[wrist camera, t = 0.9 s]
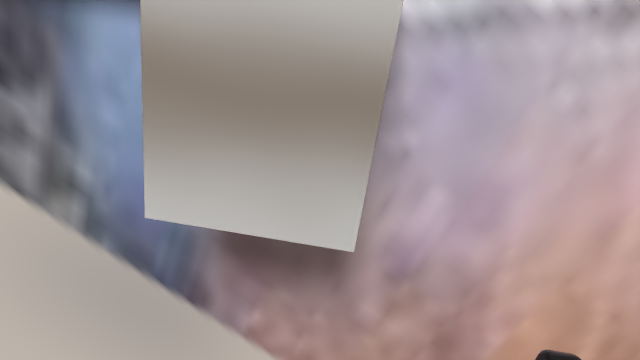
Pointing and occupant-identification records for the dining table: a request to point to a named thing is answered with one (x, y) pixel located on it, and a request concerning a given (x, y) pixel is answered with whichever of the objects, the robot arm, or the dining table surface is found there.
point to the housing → (264, 113)
